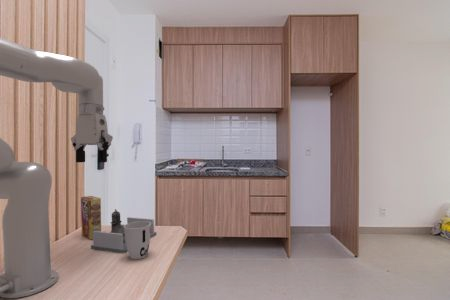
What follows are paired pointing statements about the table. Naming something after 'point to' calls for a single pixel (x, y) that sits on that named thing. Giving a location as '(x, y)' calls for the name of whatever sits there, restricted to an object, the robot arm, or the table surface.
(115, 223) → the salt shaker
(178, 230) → the table surface
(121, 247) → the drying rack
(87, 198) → the candy box
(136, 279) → the table surface
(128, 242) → the cup
